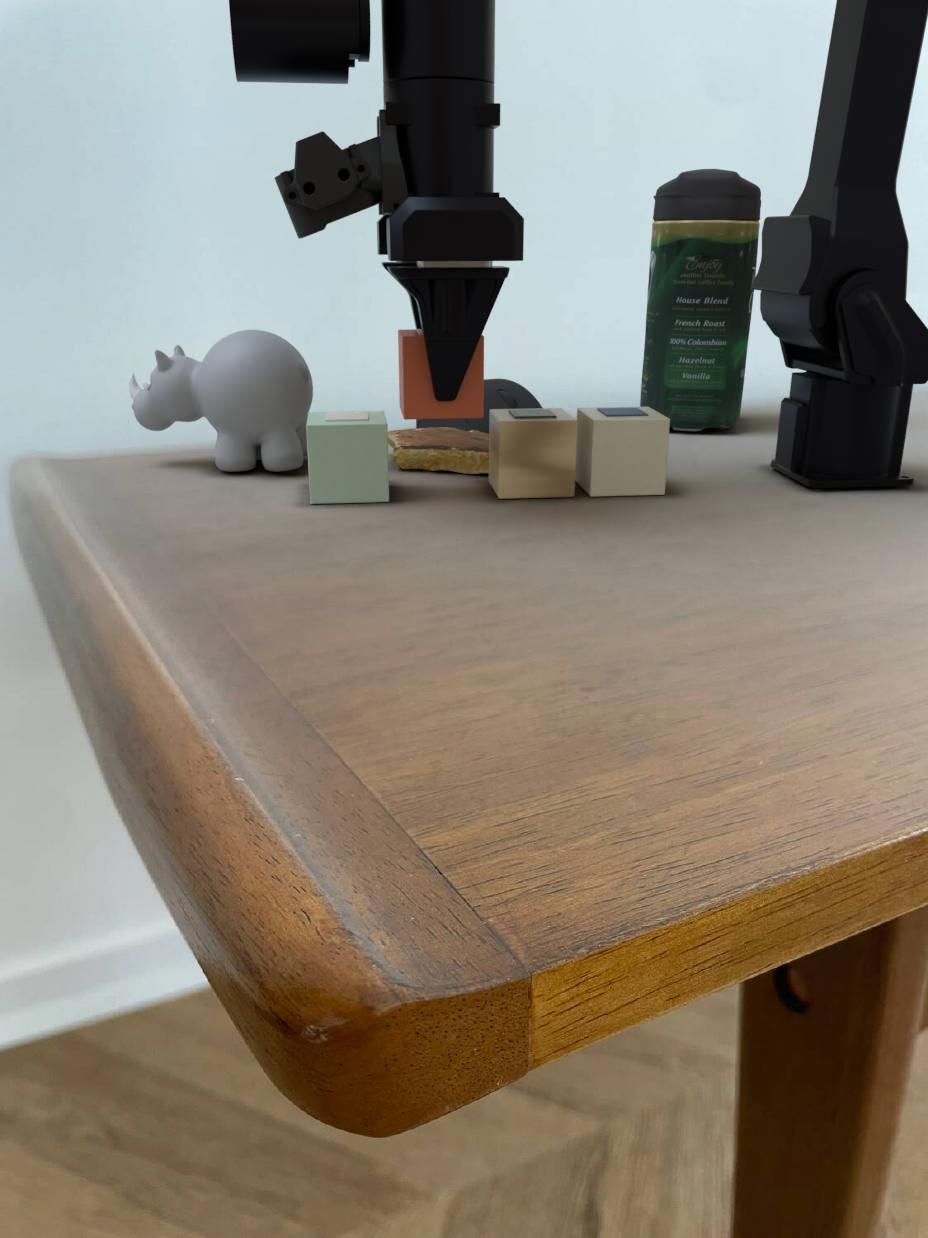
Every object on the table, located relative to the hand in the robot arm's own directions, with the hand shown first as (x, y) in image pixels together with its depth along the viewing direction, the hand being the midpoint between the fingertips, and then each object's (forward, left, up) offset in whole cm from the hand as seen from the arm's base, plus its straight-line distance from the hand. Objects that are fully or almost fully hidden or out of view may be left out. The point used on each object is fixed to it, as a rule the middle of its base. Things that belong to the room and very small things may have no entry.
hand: (441, 394), depth 59 cm
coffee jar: (-22, -21, -6) cm, 31 cm away
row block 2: (-5, 0, -6) cm, 8 cm away
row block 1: (+5, 0, -6) cm, 8 cm away
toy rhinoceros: (+13, -9, -6) cm, 17 cm away
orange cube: (0, 0, -1) cm, 1 cm away
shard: (-3, -8, -6) cm, 10 cm away
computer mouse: (-5, -18, -6) cm, 19 cm away
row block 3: (-10, 0, -6) cm, 12 cm away
